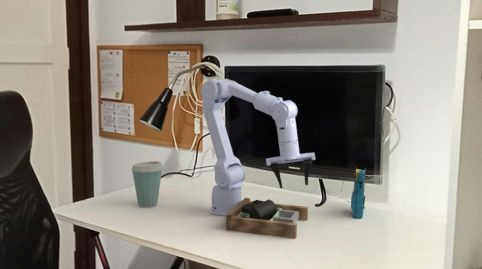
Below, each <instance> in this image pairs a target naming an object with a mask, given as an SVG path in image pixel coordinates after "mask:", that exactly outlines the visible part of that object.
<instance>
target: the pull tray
mask: <svg viewBox="0 0 482 269" xmlns="http://www.w3.org/2000/svg"><path fill="white" fill-rule="evenodd" d="M242 216H245V217H249V216H250V215H249V214H248V213H243V212H241V213H240V214H239V215H238V216H237V217H242ZM283 217H286V218H283ZM298 218H299V212H298V211H288V210H282V208H277V213H276V214H275V215H274V217H273V218H272V219H270V221H279V222H288V223H296V222H297V221H298Z"/></svg>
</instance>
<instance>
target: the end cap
mask: <svg viewBox="0 0 482 269" xmlns="http://www.w3.org/2000/svg"><path fill="white" fill-rule="evenodd" d="M252 201H253V202H252V203H254V204H257V205H249V204H246V205H244V206H242V212H243V213H248V214H249V216H248V217H245V216H242V217H243V218H252V219H261V220H271V219H272V218H273V217H274V215H275V214H276V213H277V207H276V205H275V204H276V202H274V200H271V199H266V200H260V199H255V200H252Z"/></svg>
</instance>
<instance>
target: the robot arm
mask: <svg viewBox="0 0 482 269" xmlns="http://www.w3.org/2000/svg"><path fill="white" fill-rule="evenodd" d="M199 91H200V94H201V95H200V96H201V98H202V112H203V115H204V118H205V121H206V126H207V130H208V132H209V135H210V139H211V142H212V146H213V150H214V153H215V156H216V159H217V161H216V162H215V164H214V166H213V170H214V181H215V183H216V184H215V185H214V186H213V187H212V191H211V212H210V214H211V215H214V216H215V215H217V216H226V214H227V213H228V212H230V211H231V210H232V209H233V208H234V207H235V206H236V205H238V204H239V203H240V202H241V201H242V185H243V182H244V181H245V179H246V170H245V168H244V167H243V165H242V163H241V160H240V159H239V158H238V157H236V156H235V155H234V152H233V147H232V145H231V142H230V139H229V136H228V131H227V128H226V125H225V121H224V119H223V116H222V111H221V110H222V107H223V106H224V104H225V103H226V102H227V101H228V100H229V99H230V98H231V97H232V96H233V97H235V98H239V99H241V100H244V101H247V102H249V103H252V105H253V107H254V109H256V110H258V111H260V112H263V113H264V114H267V115H269V116H271V117H272V119H273V120H274V122H275V126H276V130H277V132H276V133H277V138H278V140H277V141H278V145H279V146H278V148H279V154H280V156H273V157H269V158H265V161H266V166H267V167H269V166H270V169H271V170H272V172H273V173H274V176H275V177H276V178H275V179H276V180H277V182H278V184H279V189H283V183H282V179H281V178H282V177H281V172H280V171H281V170H280V164H289V163H295V162H297V163H298V162H302V166H303V171H304V172H303V173H304V185H305V186H308V185H309V177H310V171H311V168H312V164H313V161H315V160H316V155H315V152H305V153H300V147H299V141H298V140H299V138H298V137H299V136H298V133H297V132H298V129H297V122H296V117H297V115H298V112H299V110H298V107H297V105H296V103H295V102H293V101H292V100H290V99H288V100H283V97H280V96H279V97H277V96H274V95H272V94H270V93H271V92H270V91H268V90H264V91H260V92H258V93H257V92H256V91H254V90H252V89H250V88H247V87H246V86H244V85H243V84H239V83H238V82H236V81H235V80H231V79H229V78H222V79H207V80H206V81H204V83H203V85H202V87H201V88H200V90H199Z"/></svg>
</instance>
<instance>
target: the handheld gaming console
mask: <svg viewBox="0 0 482 269" xmlns="http://www.w3.org/2000/svg"><path fill="white" fill-rule="evenodd" d="M355 176H356V178H354V182H353V191H352V194H351V199H350V209H351V214H352V218H355V219H358V220H362V218H364V210H365V208H366V205H365V202H366V195H365V189H366V188H365V186H366V185H365V183H366V182H365V183H364V178H365V179H366V169H365V170H361V169H357V168H356V170H355Z"/></svg>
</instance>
